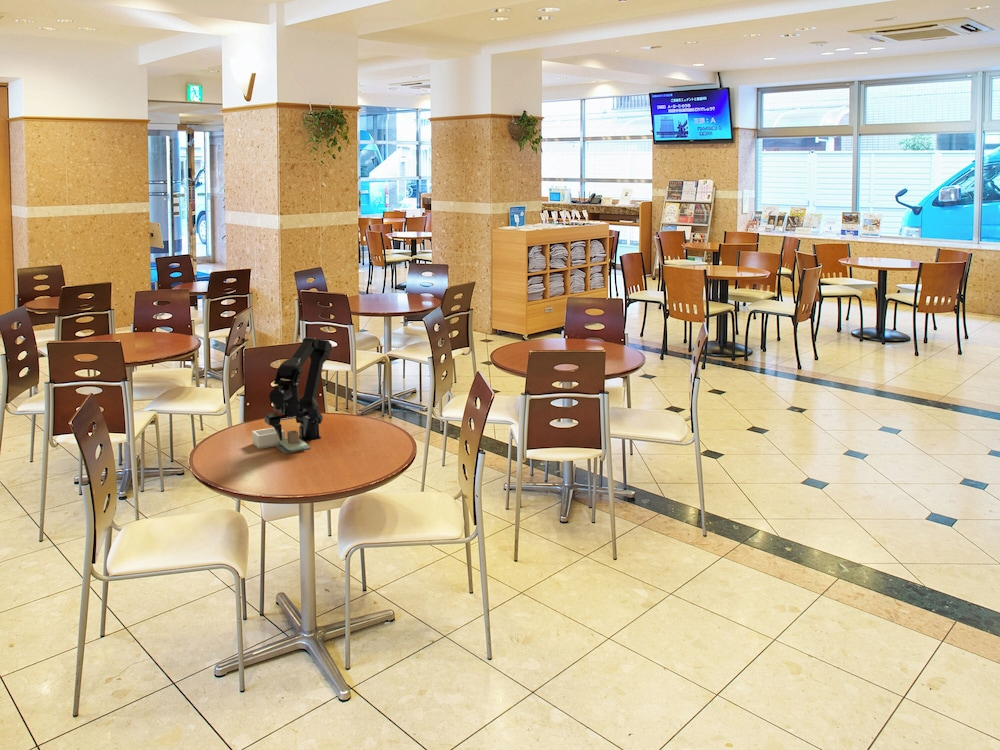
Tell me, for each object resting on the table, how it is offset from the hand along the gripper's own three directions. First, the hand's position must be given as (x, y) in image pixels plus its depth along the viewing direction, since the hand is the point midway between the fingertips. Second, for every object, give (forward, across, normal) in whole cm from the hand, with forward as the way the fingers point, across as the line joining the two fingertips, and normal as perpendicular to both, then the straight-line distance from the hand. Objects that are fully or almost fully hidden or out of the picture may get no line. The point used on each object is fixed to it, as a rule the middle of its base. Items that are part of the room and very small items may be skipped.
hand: (292, 438), depth 321 cm
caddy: (+4, +6, -9) cm, 12 cm away
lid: (+2, 0, 0) cm, 2 cm away
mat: (+4, 0, 0) cm, 4 cm away
